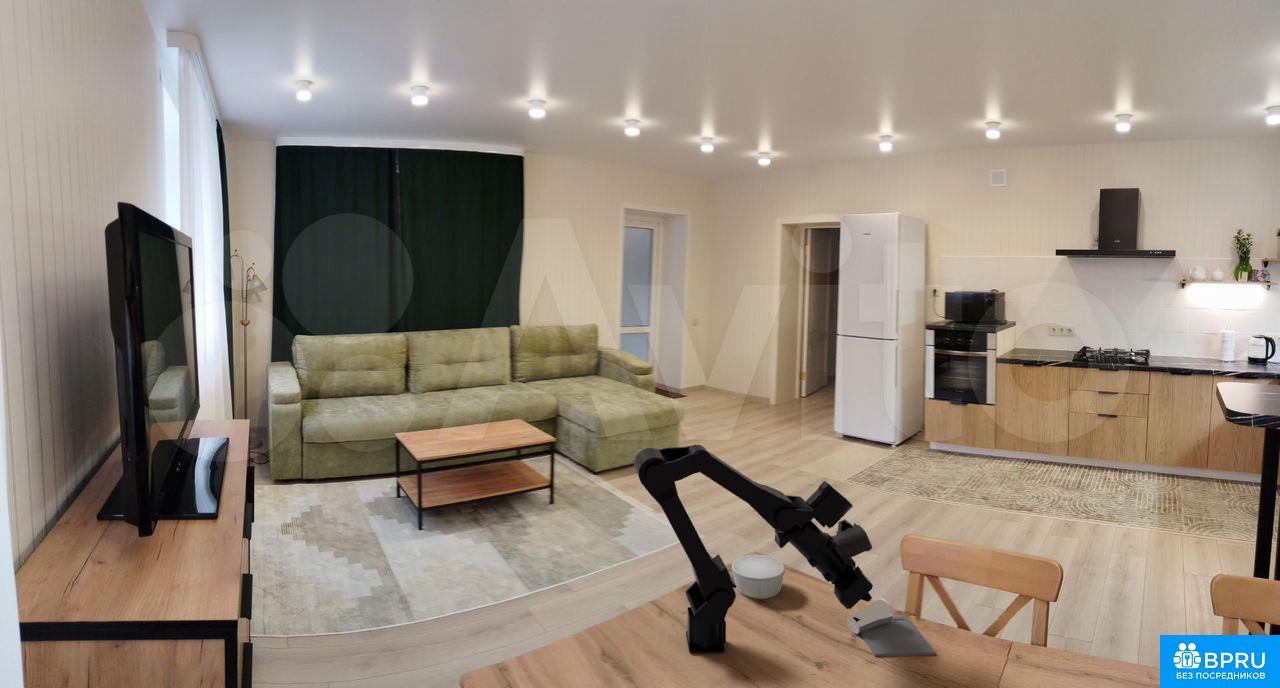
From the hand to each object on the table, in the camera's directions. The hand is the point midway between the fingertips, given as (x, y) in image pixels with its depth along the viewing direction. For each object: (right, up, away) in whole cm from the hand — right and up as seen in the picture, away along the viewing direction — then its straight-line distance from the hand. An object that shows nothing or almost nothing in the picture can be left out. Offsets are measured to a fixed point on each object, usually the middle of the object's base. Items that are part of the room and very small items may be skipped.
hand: (869, 599), depth 124 cm
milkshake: (-3, -6, 0) cm, 6 cm away
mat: (+4, -7, 0) cm, 8 cm away
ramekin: (-18, -5, +18) cm, 26 cm away
